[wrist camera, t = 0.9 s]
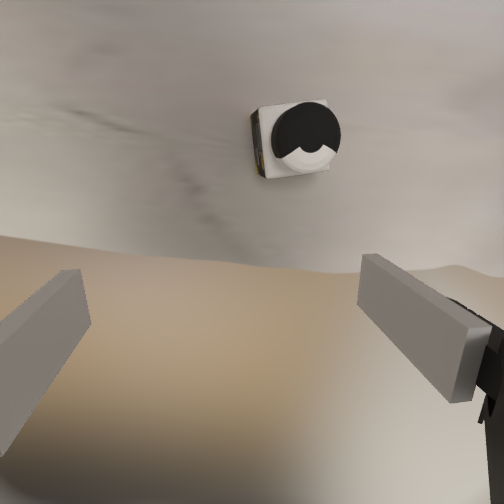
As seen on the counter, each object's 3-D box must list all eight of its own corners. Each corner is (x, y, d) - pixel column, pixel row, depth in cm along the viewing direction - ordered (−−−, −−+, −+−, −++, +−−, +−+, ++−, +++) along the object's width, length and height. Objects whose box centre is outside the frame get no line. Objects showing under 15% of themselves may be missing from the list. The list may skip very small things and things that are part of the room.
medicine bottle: (249, 114, 37) (267, 98, 26) (307, 107, 38) (349, 88, 26) (256, 175, 39) (275, 184, 28) (310, 167, 40) (350, 173, 29)
